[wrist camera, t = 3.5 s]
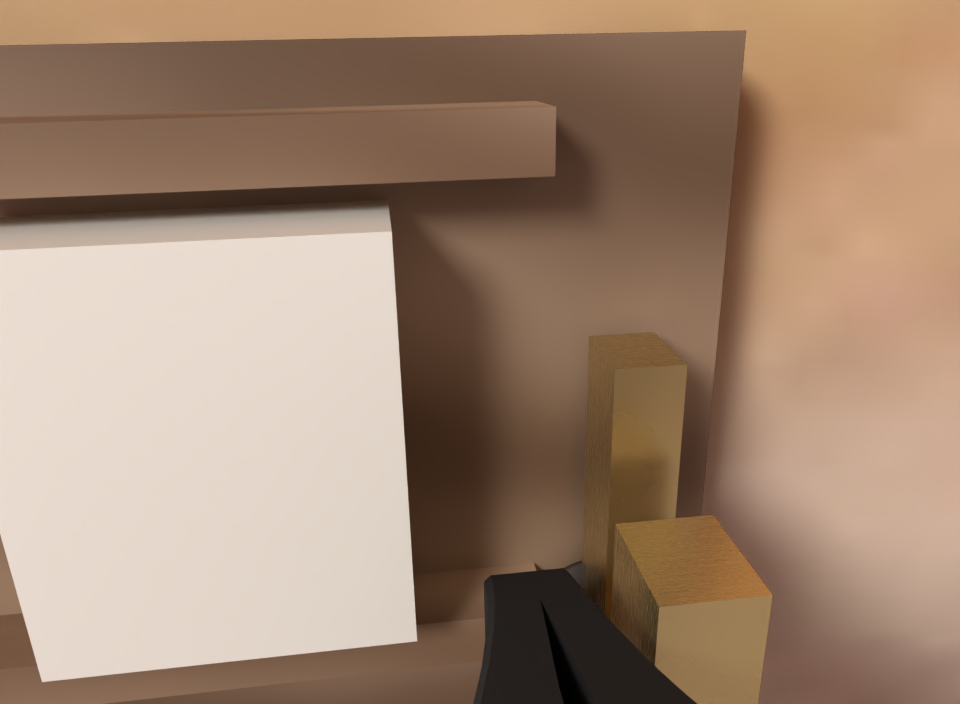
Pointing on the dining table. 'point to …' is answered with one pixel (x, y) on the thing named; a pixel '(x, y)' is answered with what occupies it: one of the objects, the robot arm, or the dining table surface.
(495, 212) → the board
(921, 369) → the dining table surface
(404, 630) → the cream cover
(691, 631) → the brass T-key
